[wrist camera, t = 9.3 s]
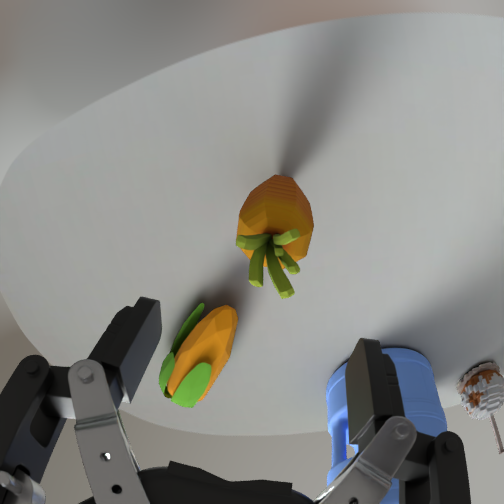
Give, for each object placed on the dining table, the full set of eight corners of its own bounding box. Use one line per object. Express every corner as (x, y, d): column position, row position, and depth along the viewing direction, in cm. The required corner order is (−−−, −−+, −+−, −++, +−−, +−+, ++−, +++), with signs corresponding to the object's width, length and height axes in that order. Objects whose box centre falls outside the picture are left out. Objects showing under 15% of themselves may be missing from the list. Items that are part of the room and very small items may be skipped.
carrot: (248, 163, 28) (203, 242, 15) (303, 151, 27) (308, 224, 14) (262, 212, 30) (232, 321, 17) (314, 203, 29) (324, 310, 16)
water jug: (446, 342, 35) (495, 538, 11) (409, 407, 43) (425, 561, 19) (336, 342, 37) (338, 576, 13) (318, 409, 45) (308, 577, 21)
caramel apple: (463, 365, 37) (490, 449, 25) (502, 355, 36) (533, 431, 23) (451, 394, 41) (470, 470, 28) (488, 385, 39) (511, 455, 27)
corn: (146, 408, 38) (182, 320, 28) (159, 367, 44) (199, 271, 34) (196, 425, 39) (257, 347, 29) (205, 383, 46) (261, 296, 36)
